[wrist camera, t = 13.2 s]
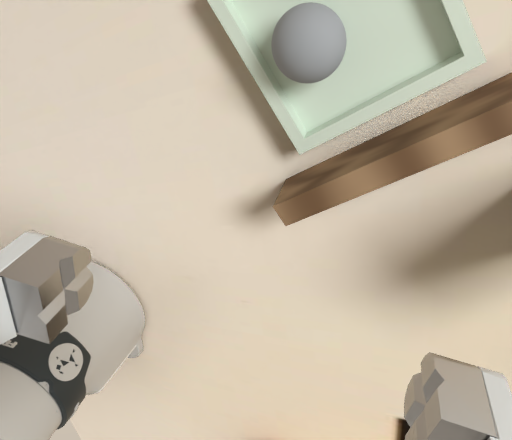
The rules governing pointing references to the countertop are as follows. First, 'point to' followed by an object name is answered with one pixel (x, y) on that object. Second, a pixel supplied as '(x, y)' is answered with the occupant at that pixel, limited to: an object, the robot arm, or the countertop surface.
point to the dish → (355, 60)
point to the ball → (308, 42)
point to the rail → (401, 152)
